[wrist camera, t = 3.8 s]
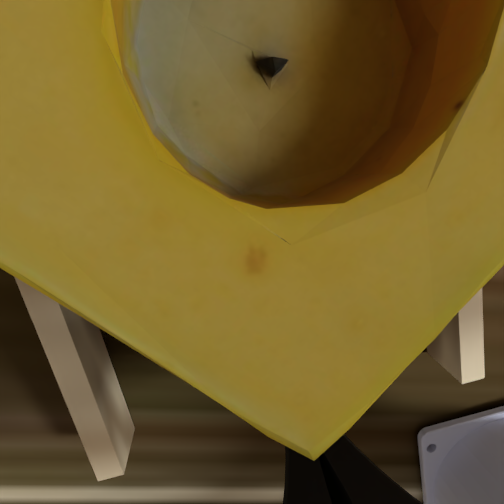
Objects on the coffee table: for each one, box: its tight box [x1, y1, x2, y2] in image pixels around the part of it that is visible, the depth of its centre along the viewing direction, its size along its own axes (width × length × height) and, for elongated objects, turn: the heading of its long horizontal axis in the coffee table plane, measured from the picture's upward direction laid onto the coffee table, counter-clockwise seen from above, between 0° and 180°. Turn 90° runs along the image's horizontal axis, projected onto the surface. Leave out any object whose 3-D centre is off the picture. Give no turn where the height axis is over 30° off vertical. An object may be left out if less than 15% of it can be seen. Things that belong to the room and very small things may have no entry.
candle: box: [0, 0, 504, 461], centre depth 9 cm, size 10×10×10 cm
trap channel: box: [14, 277, 485, 481], centre depth 12 cm, size 30×29×2 cm
